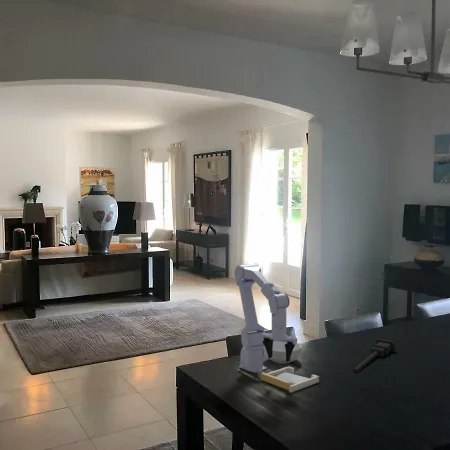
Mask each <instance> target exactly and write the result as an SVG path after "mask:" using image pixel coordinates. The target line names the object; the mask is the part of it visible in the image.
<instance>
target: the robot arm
mask: <svg viewBox="0 0 450 450" xmlns="http://www.w3.org/2000/svg"><path fill="white" fill-rule="evenodd" d="M233 273H234V277H235V279H234V280H235V283H236V286H238V288H239V289H238V290H239V293H240V294H239V295H240V300H241V305H242V310H243V316H244V321H245V326H243V327H244V328H242V330H241V331H240V333H241V335H240V336H241V337H240V340H241V342H240V343H241V345H242V348H241V349H240V365H239V368H240V369H243V370H246V371H248V372H250V373H257V371H258V370H262V371H264V370H267V369H268V367H267V366H265V365H264V351H263V348H264V346H265V348H266V351H267V354H268V358H272V355H273V341H282V342H287V343H286V344H285V350H286V362H288V361H290V357H291V354H292V351H293V348H294V346H295V345H296V343H298V338H297V337H294V336H290V335H288V334H287V309H288V308H289V306H290V303H291V302H290V298H289V297H290V296H289V295H288V293H287V292H283V291H280V290H279V289H278V287H276V286H275V284H274V283H273V282H271V281H268V280H267V279H266V277H265V276H264V275H263V274H262V267H261V266H260V265H259V264H258V263H252V264H237V265H236V267H235V269H234V272H233ZM254 284H256V285H257V286H259V287H260V292H261V294H262V295H263V296H264V297H265V298H266V299H267V300H268V307H269V312H270V313H271V332H270V333H269V332H266V330H265V327H264V326H263V325H261V324H259V323H258V322H259V321H258V316H257V311H256V305H255V300H254V295H253V290H252V288H253V287H252V286H253V285H254ZM268 358H267V359H268Z"/></svg>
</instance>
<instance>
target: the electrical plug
mask: <svg viewBox="0 0 450 450" xmlns="http://www.w3.org/2000/svg"><path fill="white" fill-rule="evenodd" d="M395 343H396V342H394V341H393V340H387V339H380V338H377V339H376V340H375V344H373V346H372V348H371V349H370V353H371V354H370V355H369V356H368V357H366V359H364V360H363V361H362V362H360V363H359V364H358V365H357V366H355V368H353V369H352V371H353V373H358V372H360V371H361V370H362V369H363V368H364V367H366V366H367V364H369V363H370V362H371V361H372V360H374V358H376V357H379V358H383V357H384V356H388V355H389V353H390V352H392V353H393V352H395V350H396V344H395Z"/></svg>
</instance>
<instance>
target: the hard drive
mask: <svg viewBox="0 0 450 450" xmlns="http://www.w3.org/2000/svg"><path fill="white" fill-rule="evenodd" d="M275 377H277V378H280V379H282V380H285V381H288V382H291V385H293V384H296V383H299V382H301V381H304V380H307V379H310V378H309V377H305V376H301V375H297V374H295V373H294V374H291V373H287V372H283V373H281V374H279V375H277V376H275Z"/></svg>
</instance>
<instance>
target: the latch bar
mask: <svg viewBox="0 0 450 450" xmlns="http://www.w3.org/2000/svg"><path fill="white" fill-rule="evenodd" d="M256 375H257V377H256V378H257V379H260V380H263V381H264V382H266V383H269V384H272V385H273V386H276V387H279V388H281V389H285V390H287V391H289V386H291V382H288V381H285V380H282V379H280V378H277V377H274V376H271V375H269V374H267V373H265V372H263V370H258V371H257V372H256Z"/></svg>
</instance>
